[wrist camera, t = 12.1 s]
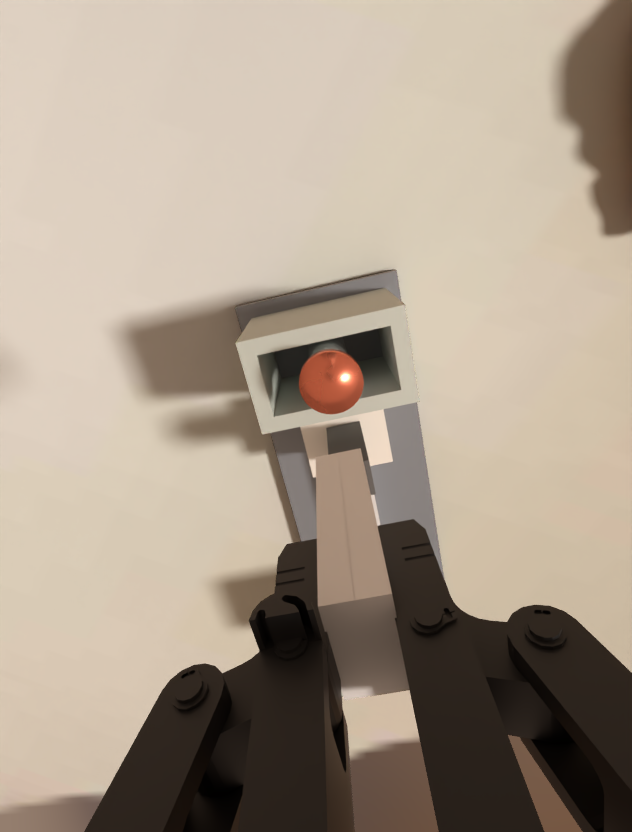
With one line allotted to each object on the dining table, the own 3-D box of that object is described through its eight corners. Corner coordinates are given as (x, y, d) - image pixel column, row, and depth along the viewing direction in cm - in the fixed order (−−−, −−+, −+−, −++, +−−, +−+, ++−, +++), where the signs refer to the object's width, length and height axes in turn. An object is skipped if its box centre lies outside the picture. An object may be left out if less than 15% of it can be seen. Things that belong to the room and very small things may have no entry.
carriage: (298, 398, 37) (294, 454, 28) (374, 382, 36) (395, 434, 27) (313, 454, 39) (313, 524, 30) (385, 439, 38) (408, 506, 29)
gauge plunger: (296, 328, 34) (292, 360, 26) (346, 317, 34) (357, 346, 26) (308, 375, 35) (307, 420, 27) (355, 364, 35) (368, 407, 27)
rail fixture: (236, 306, 36) (211, 332, 27) (394, 269, 35) (423, 284, 26) (326, 624, 47) (329, 717, 38) (446, 603, 46) (478, 693, 37)
